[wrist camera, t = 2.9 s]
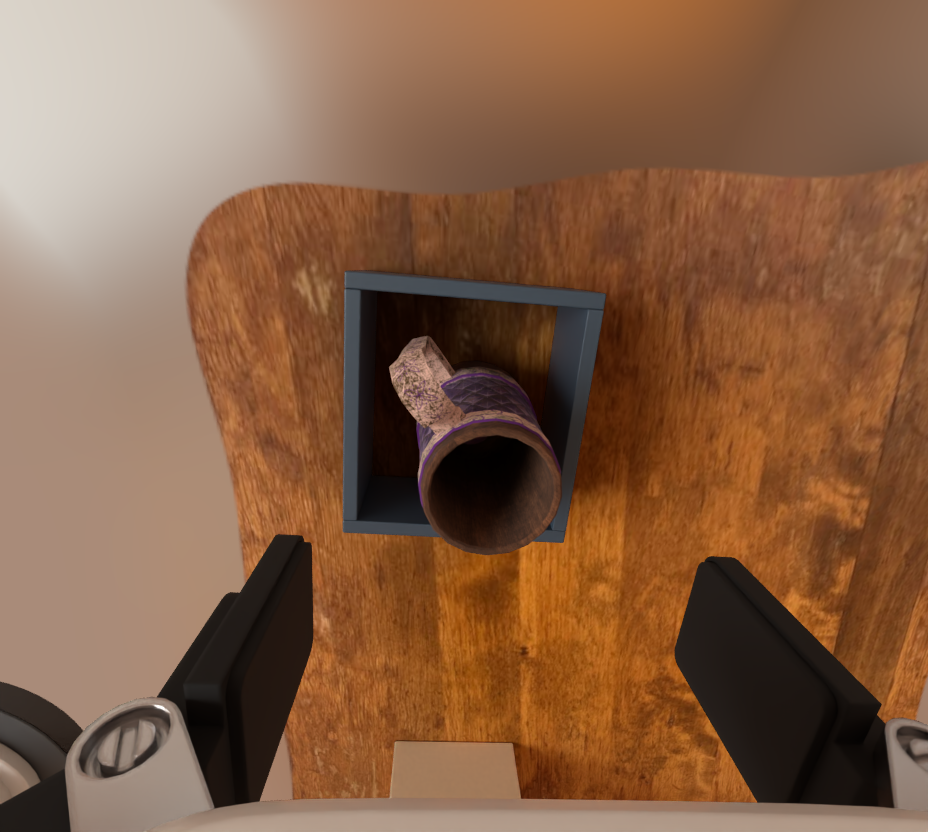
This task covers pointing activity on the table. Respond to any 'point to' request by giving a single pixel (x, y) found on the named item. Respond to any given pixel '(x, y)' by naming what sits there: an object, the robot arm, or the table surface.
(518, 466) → the mug
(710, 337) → the table surface
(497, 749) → the block
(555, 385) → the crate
